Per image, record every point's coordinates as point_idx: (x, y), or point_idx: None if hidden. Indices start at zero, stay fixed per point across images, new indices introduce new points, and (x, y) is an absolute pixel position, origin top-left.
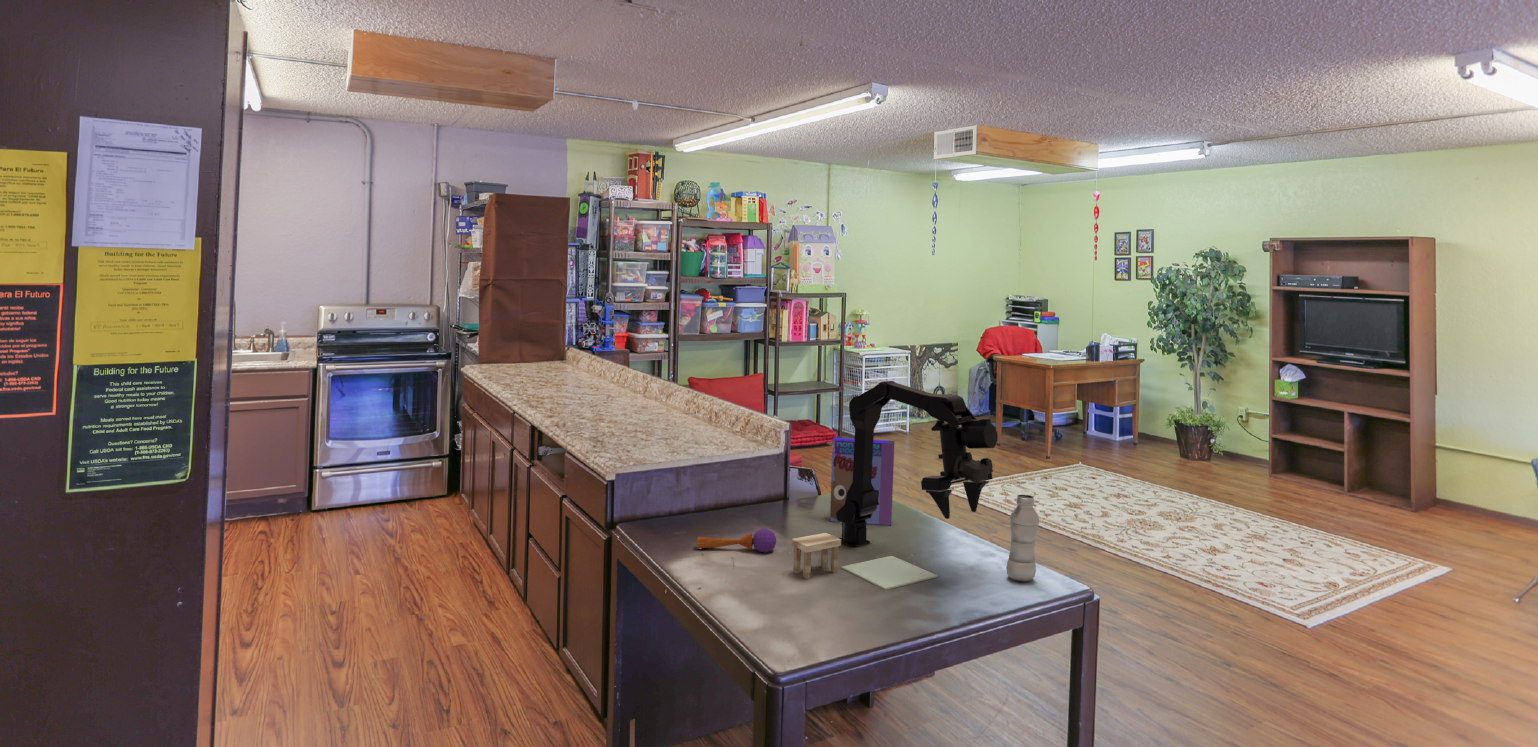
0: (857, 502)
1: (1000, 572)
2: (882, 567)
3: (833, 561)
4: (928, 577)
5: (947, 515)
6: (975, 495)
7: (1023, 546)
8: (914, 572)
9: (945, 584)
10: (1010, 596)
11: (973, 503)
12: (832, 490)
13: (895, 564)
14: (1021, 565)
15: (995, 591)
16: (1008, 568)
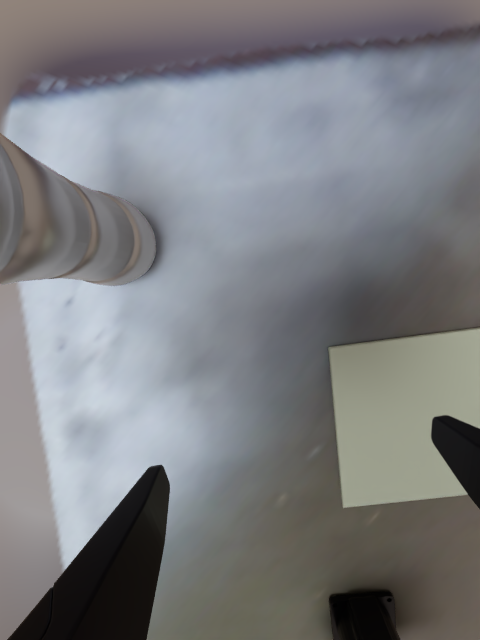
0: None
1: (141, 312)
2: (424, 447)
3: None
4: (361, 345)
5: (474, 429)
6: (87, 630)
7: (70, 182)
8: (371, 389)
9: (343, 295)
10: (236, 149)
11: (144, 534)
12: None
13: (378, 453)
14: (121, 202)
15: (251, 198)
16: (151, 249)
